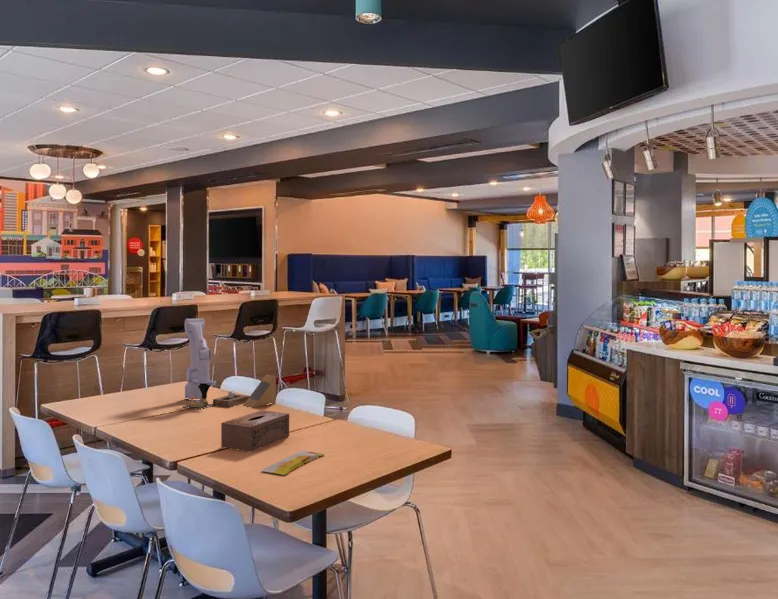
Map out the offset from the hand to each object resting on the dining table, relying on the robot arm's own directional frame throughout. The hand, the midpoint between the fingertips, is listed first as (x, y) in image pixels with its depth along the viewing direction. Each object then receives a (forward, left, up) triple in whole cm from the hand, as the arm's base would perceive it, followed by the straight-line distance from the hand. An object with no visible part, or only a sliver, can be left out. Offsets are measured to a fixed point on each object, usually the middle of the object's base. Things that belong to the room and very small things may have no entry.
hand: (204, 398), depth 322 cm
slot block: (+9, +10, -4) cm, 14 cm away
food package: (+96, -63, -5) cm, 115 cm away
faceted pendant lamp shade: (-1, -3, -3) cm, 4 cm away
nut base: (-1, -4, -4) cm, 5 cm away
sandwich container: (+25, +13, -4) cm, 28 cm away
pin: (+9, +10, -4) cm, 14 cm away
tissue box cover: (+66, -45, -4) cm, 80 cm away
